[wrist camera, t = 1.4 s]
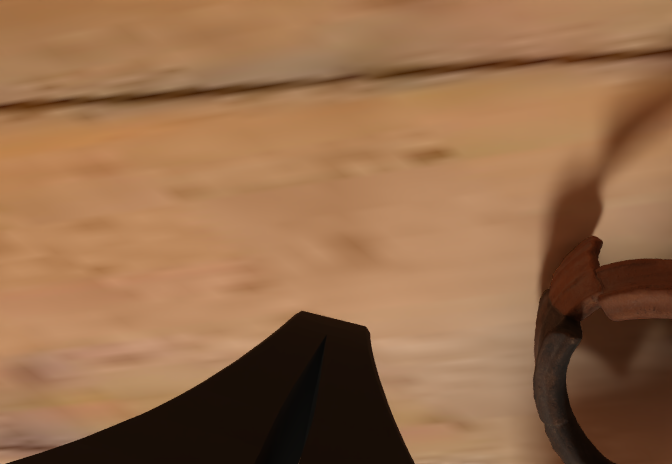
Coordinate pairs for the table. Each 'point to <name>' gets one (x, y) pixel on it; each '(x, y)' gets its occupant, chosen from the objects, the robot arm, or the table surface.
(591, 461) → the pottery mug
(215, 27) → the table surface
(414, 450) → the table surface
